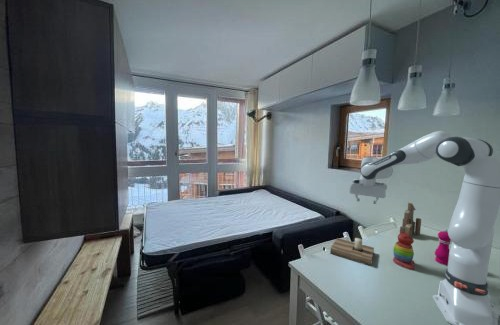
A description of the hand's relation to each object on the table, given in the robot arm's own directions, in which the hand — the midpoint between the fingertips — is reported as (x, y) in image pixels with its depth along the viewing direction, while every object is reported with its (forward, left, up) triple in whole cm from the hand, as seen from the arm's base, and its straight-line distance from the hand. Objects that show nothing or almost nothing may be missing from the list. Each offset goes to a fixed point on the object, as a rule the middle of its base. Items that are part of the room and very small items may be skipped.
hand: (366, 202), depth 131 cm
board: (-11, +5, -31) cm, 33 cm away
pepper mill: (+11, -40, -31) cm, 52 cm away
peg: (-11, +2, -31) cm, 33 cm away
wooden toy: (+49, -27, -31) cm, 64 cm away
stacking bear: (-5, -21, -31) cm, 38 cm away
